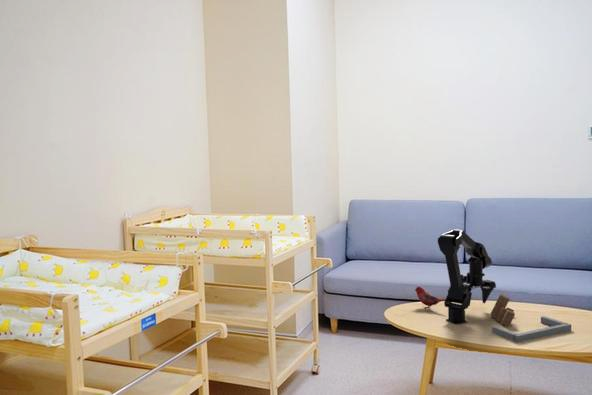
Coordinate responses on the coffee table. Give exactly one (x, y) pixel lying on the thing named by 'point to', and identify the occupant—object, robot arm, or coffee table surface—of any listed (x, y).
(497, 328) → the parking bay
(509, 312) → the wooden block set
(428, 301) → the decorative bird figurine
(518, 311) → the coffee table surface
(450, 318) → the robot arm
